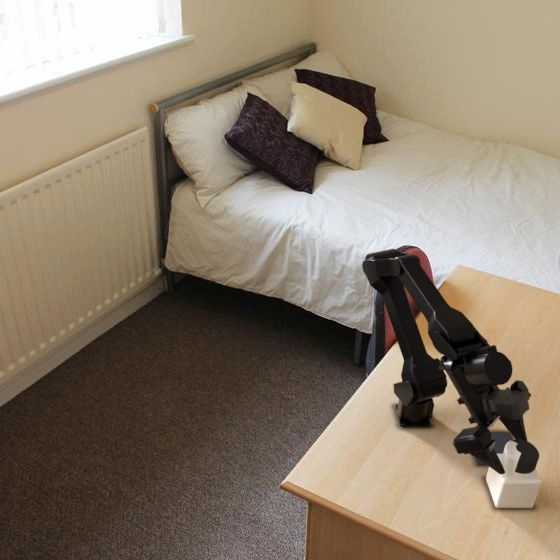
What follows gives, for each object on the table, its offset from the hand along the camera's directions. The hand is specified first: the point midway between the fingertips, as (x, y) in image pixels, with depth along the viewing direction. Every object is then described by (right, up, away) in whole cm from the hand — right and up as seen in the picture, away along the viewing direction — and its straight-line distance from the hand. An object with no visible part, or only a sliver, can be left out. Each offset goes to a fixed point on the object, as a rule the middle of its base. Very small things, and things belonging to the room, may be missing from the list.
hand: (514, 459), depth 130 cm
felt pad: (0, -1, +14) cm, 14 cm away
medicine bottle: (0, -8, +4) cm, 9 cm away
